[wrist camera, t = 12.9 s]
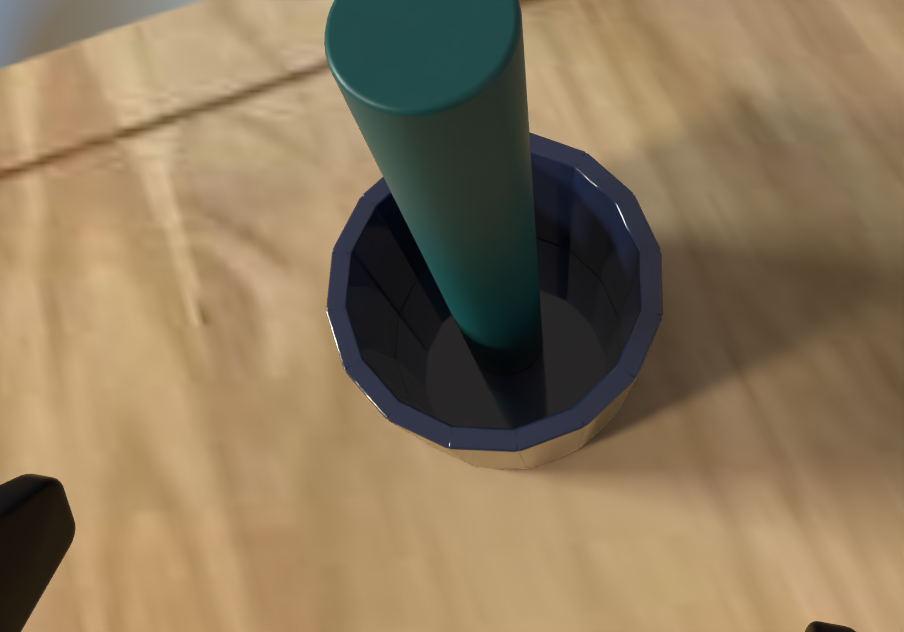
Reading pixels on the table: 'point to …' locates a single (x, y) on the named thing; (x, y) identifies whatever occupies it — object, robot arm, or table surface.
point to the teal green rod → (452, 153)
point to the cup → (562, 313)
